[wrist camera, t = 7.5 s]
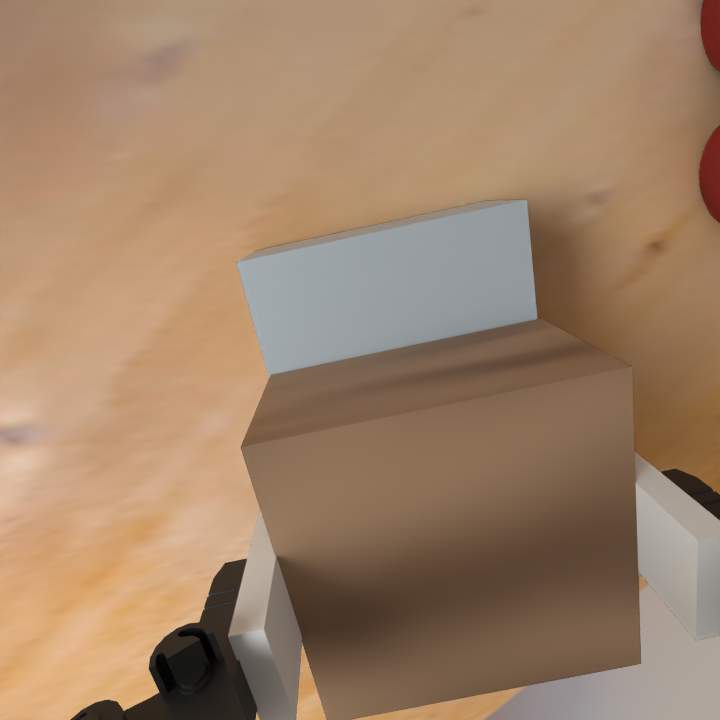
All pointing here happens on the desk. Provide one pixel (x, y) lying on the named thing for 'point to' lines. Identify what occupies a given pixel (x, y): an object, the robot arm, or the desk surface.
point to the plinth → (391, 284)
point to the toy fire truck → (716, 162)
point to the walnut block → (453, 515)
